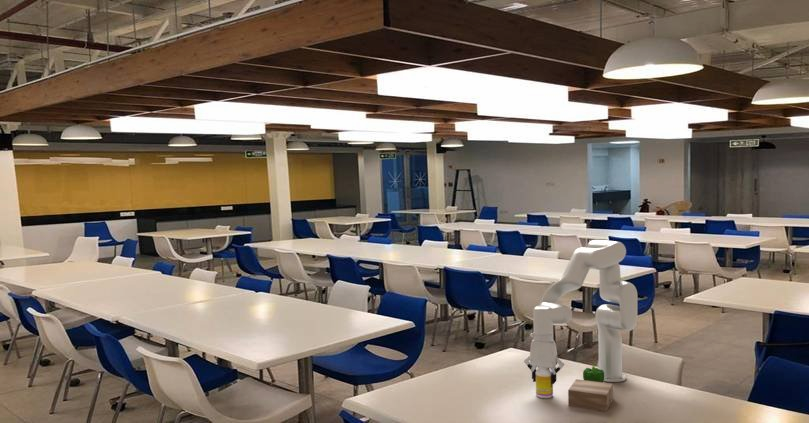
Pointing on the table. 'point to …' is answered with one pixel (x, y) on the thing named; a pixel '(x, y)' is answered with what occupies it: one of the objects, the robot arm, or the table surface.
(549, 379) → the supplement bottle
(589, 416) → the table surface
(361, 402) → the table surface
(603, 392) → the walnut block
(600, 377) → the bell pepper
